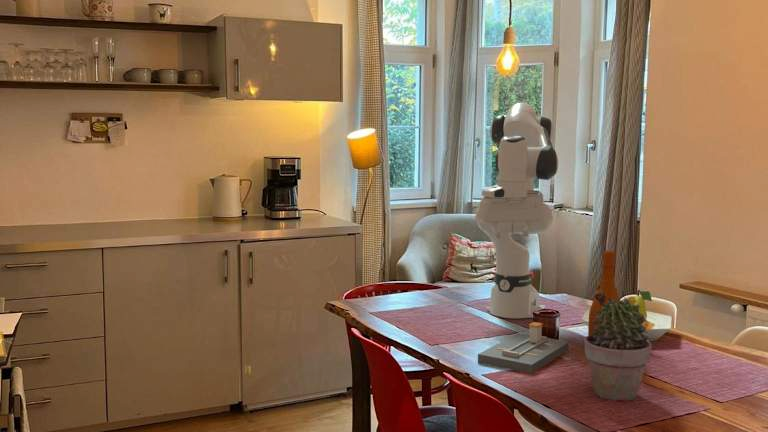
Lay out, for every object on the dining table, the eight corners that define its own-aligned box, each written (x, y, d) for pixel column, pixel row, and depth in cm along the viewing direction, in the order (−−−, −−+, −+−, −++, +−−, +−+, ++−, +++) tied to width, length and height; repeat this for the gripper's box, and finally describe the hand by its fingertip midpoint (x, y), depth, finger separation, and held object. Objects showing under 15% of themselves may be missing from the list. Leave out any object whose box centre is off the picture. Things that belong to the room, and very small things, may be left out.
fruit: (693, 337, 238) (695, 291, 236) (645, 352, 222) (647, 304, 220) (610, 317, 261) (611, 275, 259) (561, 330, 245) (562, 286, 243)
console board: (518, 340, 233) (519, 328, 233) (569, 349, 224) (569, 337, 223) (477, 362, 212) (478, 349, 212) (531, 373, 203) (531, 360, 202)
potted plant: (651, 414, 175) (657, 307, 172) (568, 398, 185) (571, 296, 182) (669, 391, 190) (674, 292, 187) (590, 377, 200) (594, 283, 197)
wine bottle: (623, 351, 223) (628, 248, 219) (622, 361, 214) (627, 254, 210) (588, 347, 226) (592, 246, 222) (586, 357, 217) (590, 252, 213)
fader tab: (533, 339, 225) (533, 321, 225) (542, 340, 224) (542, 323, 223) (528, 341, 223) (528, 324, 222) (537, 343, 221) (537, 325, 220)
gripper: (537, 189, 234) (536, 234, 236) (476, 190, 228) (475, 236, 229) (548, 191, 228) (547, 237, 230) (486, 192, 222) (485, 239, 223)
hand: (511, 237), depth 230 cm, fingers open, 8 cm apart
